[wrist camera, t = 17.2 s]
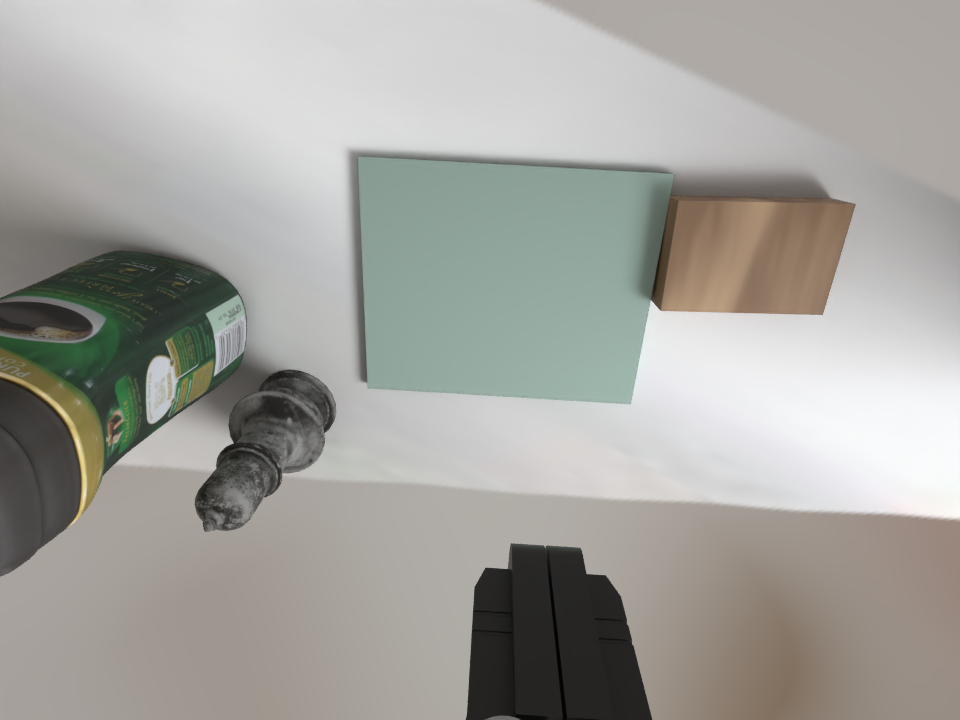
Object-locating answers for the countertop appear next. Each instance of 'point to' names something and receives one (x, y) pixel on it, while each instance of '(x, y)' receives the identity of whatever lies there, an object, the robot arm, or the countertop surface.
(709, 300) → the slab
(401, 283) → the mat
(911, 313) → the countertop surface
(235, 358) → the coffee jar
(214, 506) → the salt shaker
